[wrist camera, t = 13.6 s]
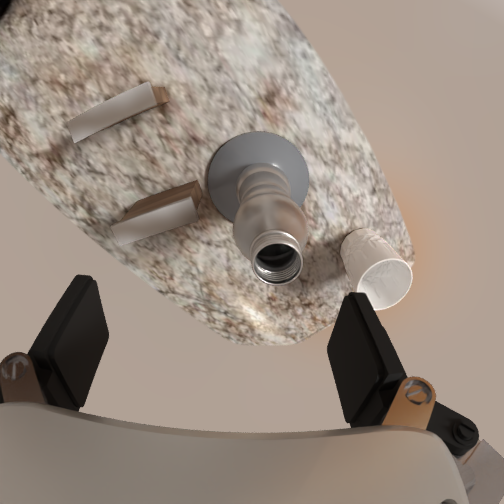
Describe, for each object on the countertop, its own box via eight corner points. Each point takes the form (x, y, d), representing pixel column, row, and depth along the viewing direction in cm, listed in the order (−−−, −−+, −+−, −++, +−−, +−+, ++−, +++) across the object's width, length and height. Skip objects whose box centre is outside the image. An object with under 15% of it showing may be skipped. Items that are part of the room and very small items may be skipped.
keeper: (99, 114, 34) (66, 122, 27) (167, 83, 33) (147, 81, 25) (140, 216, 42) (119, 246, 34) (206, 194, 40) (198, 220, 33)
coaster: (194, 149, 37) (193, 149, 37) (294, 120, 36) (295, 120, 35) (226, 237, 44) (226, 239, 43) (317, 212, 42) (318, 214, 42)
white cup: (325, 253, 45) (343, 293, 37) (361, 213, 42) (389, 246, 34) (359, 278, 48) (380, 319, 39) (393, 243, 45) (422, 278, 36)
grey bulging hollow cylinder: (262, 217, 42) (276, 316, 24) (225, 183, 39) (210, 264, 22) (298, 184, 40) (341, 265, 22) (261, 147, 37) (278, 201, 20)
